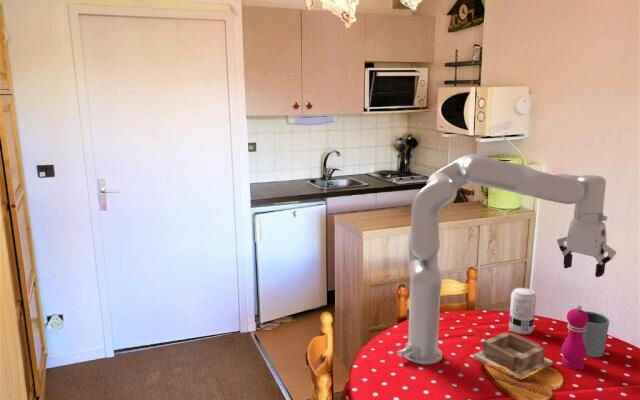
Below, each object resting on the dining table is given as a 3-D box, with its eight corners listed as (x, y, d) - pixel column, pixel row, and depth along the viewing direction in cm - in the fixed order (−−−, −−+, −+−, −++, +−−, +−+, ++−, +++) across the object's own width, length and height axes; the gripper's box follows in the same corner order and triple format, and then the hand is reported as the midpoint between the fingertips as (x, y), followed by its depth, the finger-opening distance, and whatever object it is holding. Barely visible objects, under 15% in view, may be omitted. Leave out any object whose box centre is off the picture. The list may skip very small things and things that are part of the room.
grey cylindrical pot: (597, 361, 159) (601, 326, 157) (566, 349, 167) (569, 316, 164) (610, 351, 165) (614, 317, 163) (579, 340, 173) (582, 308, 171)
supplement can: (504, 326, 184) (506, 288, 181) (522, 323, 186) (525, 285, 183) (518, 336, 176) (522, 296, 173) (538, 333, 179) (541, 293, 176)
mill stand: (519, 381, 148) (520, 364, 147) (473, 357, 162) (474, 341, 161) (552, 364, 157) (553, 348, 156) (506, 343, 171) (507, 328, 170)
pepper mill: (588, 371, 153) (595, 310, 149) (563, 369, 155) (569, 309, 151) (581, 359, 160) (587, 301, 156) (557, 357, 161) (563, 299, 158)
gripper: (624, 220, 143) (618, 277, 146) (567, 210, 157) (562, 262, 160) (611, 224, 139) (605, 282, 142) (553, 213, 153) (549, 266, 156)
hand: (582, 271), depth 151 cm, fingers open, 9 cm apart
